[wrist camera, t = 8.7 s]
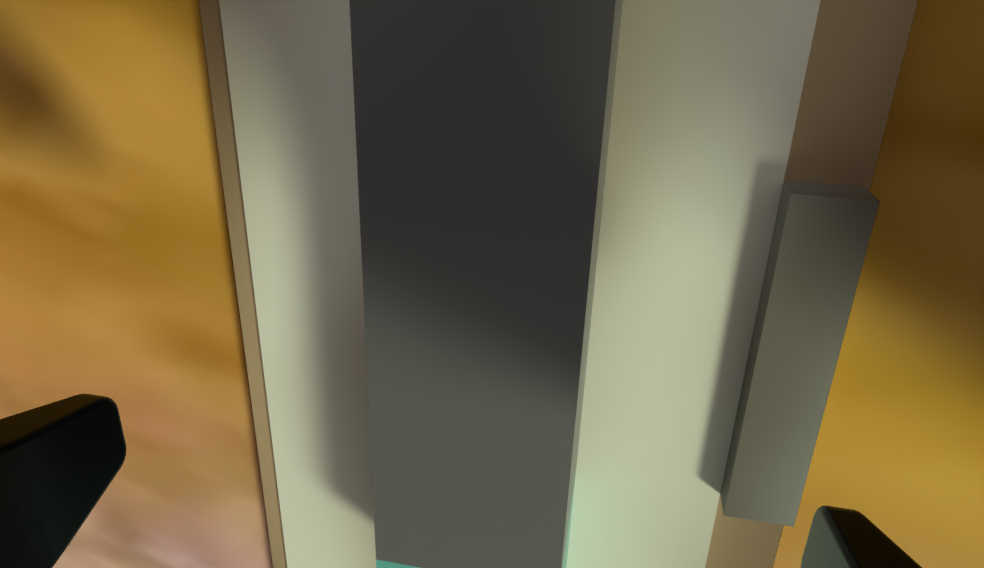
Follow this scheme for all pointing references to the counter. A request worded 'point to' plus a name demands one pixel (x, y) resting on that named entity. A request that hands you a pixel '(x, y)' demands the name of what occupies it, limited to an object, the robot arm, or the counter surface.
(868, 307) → the counter surface
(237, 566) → the counter surface
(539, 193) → the dark gray rectangular block
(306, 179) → the cream flat piece
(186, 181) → the counter surface
